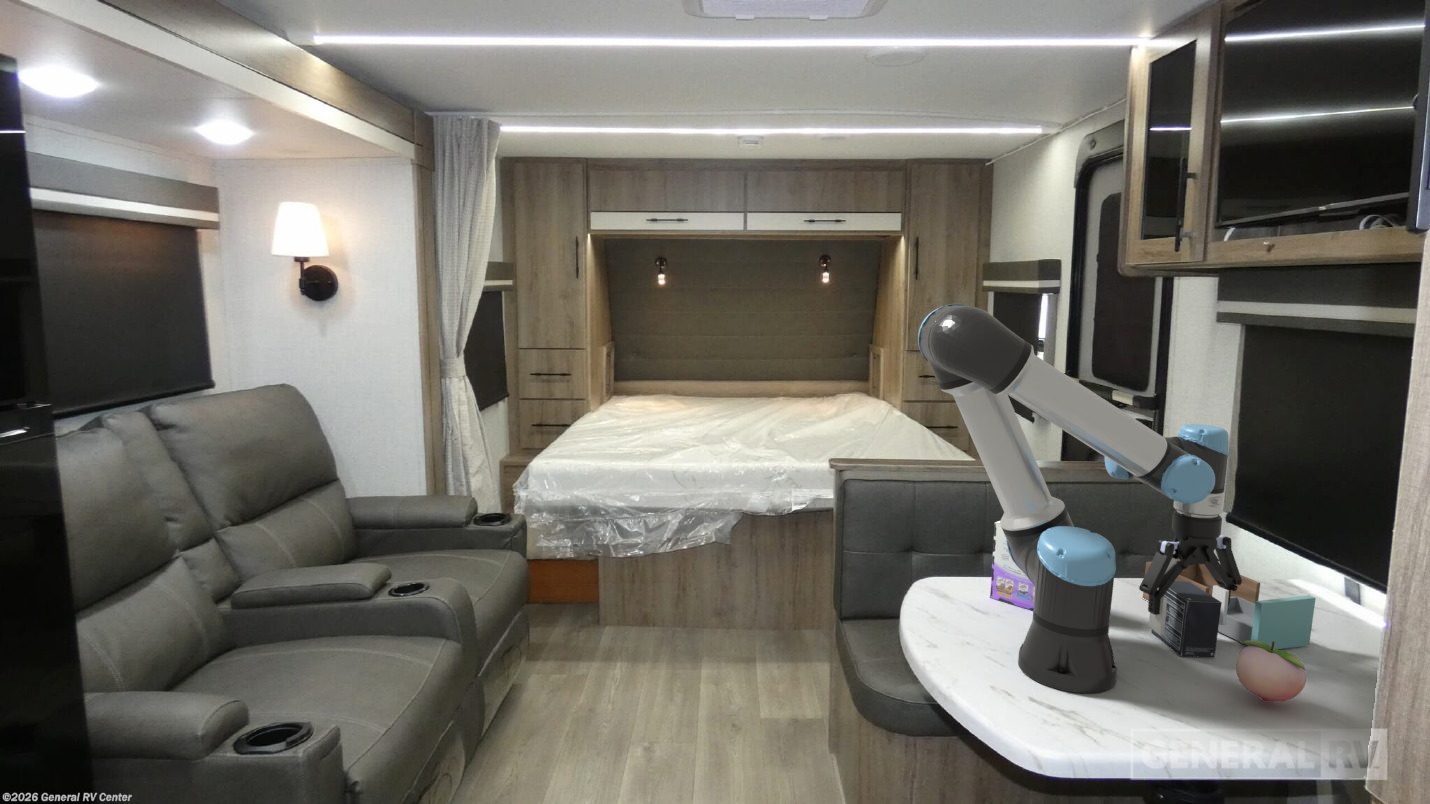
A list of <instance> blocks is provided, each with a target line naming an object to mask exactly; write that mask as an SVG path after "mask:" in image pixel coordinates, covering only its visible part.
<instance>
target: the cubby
mask: <svg viewBox="0 0 1430 804" xmlns="http://www.w3.org/2000/svg"><path fill="white" fill-rule="evenodd" d="M1177 560H1179V558H1177ZM1179 561H1180V560H1179ZM1151 562H1152V561H1146V562H1145V570H1144V571H1145V572H1144V575H1145V574H1146V572H1147V570H1148V568H1149V566H1150V564H1151ZM1240 576H1241V579H1242V583H1241V585H1237V590H1236V591H1232V590H1231V595H1230V597H1233V596H1238V597H1240V598H1243V599H1245V600H1247V601H1250V602H1252V603H1254V604H1255V603H1256V601H1259V597H1260V591H1261V590H1260V589H1261V582H1259V581H1257V580H1255V579H1252V578H1250V577H1246V576H1244V575H1241V574H1240ZM1175 581H1185V582H1191V583H1192V584H1194V585H1195V586H1197V587H1198V588H1200V589H1201V590H1203V591H1205V592H1206V593H1208V594H1209V595H1211V596H1212V593H1213V586H1215V585H1217V586H1219V585H1218V584H1217V582H1216V581H1215V579H1214V578H1213V576H1212V575H1211V574H1210V572H1209V571H1208V569H1207V568H1206V566H1205V565H1204V564H1195V565H1189V566H1188V568H1186V569H1183V570H1182V571H1181V573H1180V574H1179V576H1178V577H1177V578H1176V580H1175ZM1143 598H1144V599H1146V600H1148V601H1149V594H1147V593H1144V592H1142V599H1143ZM1144 599H1143V600H1144ZM1146 600H1145V601H1146ZM1148 601H1147V602H1148Z"/></svg>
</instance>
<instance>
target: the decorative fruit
mask: <svg viewBox="0 0 1430 804" xmlns="http://www.w3.org/2000/svg"><path fill="white" fill-rule="evenodd" d="M1274 643H1275V642H1274V641H1273V642H1272V646H1271V647H1270V646H1269V645H1267V644H1266V643H1263V642H1261V641H1256V640H1247V641H1243V642H1242V643H1241V642H1240V644H1242V645H1245V644H1252V645H1250V646H1247V645H1246V647H1243V648H1242V650H1240V652H1239V654H1238V656H1237V657H1236V662H1235V671H1236V675H1237V678H1238V681H1239V682H1240V684H1241V686H1243V687H1244V688H1245V689H1246V690H1247V691H1248V692H1249V693H1251V694H1252V695H1254V696H1256V697H1258V698H1260V699H1261V701H1262V700H1263V702H1265V703H1280V702H1281V703H1282V702H1287V701H1290V700H1291V699H1294V698H1296V696H1298V695H1299V694H1301V692H1302V691H1303V690H1304V688H1305V686H1306V681H1307V675H1306V670H1307V669H1306V667H1305V665H1304V663H1303V662H1302V660H1300V659H1299V657H1298V656H1296V655H1295V654H1293V653H1291V652H1289V651H1286V650H1282V649H1274Z"/></svg>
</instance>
